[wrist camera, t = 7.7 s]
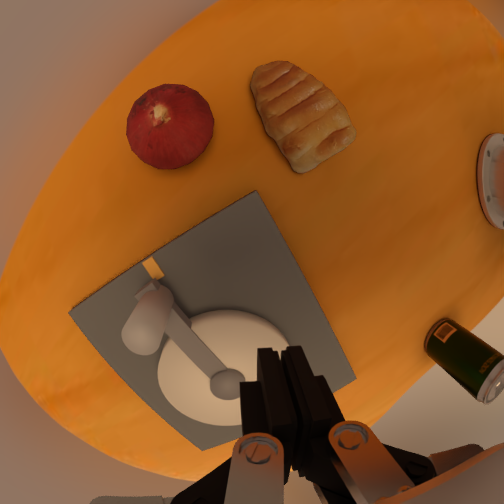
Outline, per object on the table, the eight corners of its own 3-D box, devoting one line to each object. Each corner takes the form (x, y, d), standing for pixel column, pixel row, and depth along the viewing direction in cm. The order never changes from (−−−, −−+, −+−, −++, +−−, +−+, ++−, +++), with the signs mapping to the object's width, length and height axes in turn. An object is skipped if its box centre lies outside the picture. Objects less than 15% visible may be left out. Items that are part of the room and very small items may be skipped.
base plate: (254, 190, 22) (256, 190, 21) (353, 373, 28) (357, 379, 26) (72, 308, 22) (67, 313, 21) (202, 445, 28) (202, 452, 27)
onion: (128, 135, 20) (86, 114, 12) (182, 88, 19) (166, 44, 12) (173, 186, 21) (149, 187, 13) (229, 137, 21) (235, 112, 13)
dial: (313, 373, 25) (338, 422, 19) (215, 426, 26) (217, 477, 19) (209, 236, 21) (205, 260, 14) (101, 316, 22) (68, 360, 15)
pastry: (227, 91, 20) (230, 74, 16) (291, 54, 20) (303, 35, 16) (296, 180, 22) (312, 179, 19) (354, 138, 22) (377, 132, 18)
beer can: (417, 342, 28) (479, 398, 16) (445, 309, 28) (513, 354, 16) (431, 360, 29) (485, 411, 18) (456, 330, 29) (515, 373, 17)
